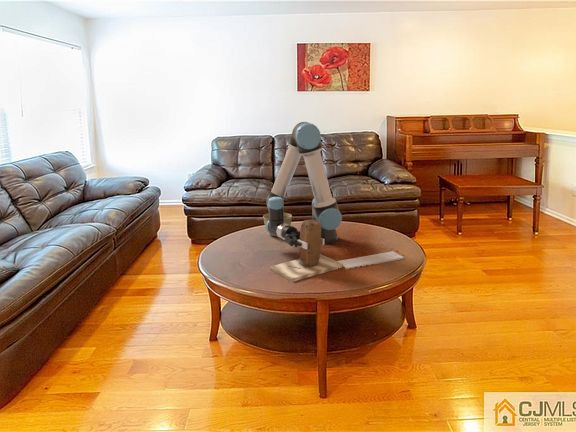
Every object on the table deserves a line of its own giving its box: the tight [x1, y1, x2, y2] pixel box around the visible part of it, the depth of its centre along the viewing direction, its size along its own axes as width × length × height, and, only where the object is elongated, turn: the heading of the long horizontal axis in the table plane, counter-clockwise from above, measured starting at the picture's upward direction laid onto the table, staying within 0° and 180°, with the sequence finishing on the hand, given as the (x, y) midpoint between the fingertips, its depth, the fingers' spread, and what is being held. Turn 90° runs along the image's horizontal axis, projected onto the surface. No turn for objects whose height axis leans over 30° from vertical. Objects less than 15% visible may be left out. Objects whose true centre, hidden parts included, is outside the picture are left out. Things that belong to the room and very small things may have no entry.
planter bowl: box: [262, 212, 293, 237], centre depth 262 cm, size 16×16×11 cm
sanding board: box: [269, 253, 343, 283], centre depth 211 cm, size 28×18×2 cm, turn 123°
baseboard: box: [336, 248, 405, 270], centre depth 219 cm, size 31×3×12 cm
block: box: [299, 218, 322, 266], centre depth 211 cm, size 11×8×20 cm
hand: (315, 244), depth 207 cm, fingers closed on block, 9 cm apart
